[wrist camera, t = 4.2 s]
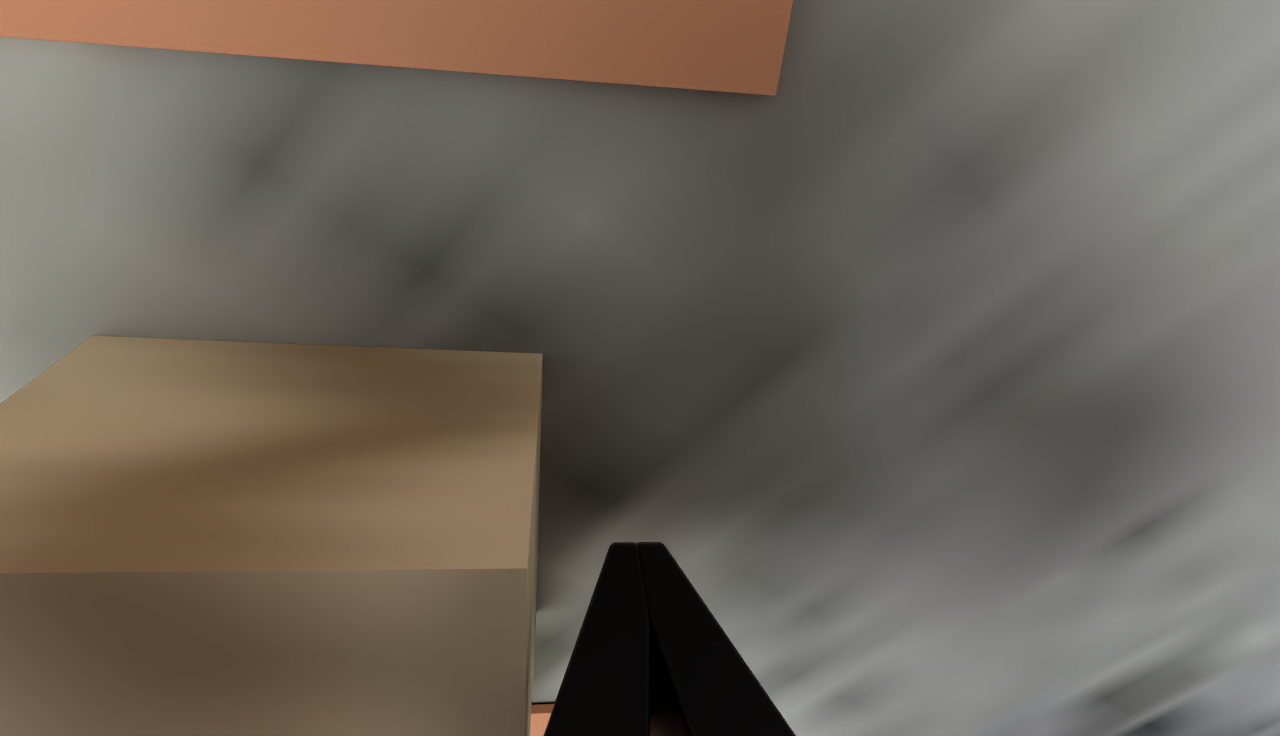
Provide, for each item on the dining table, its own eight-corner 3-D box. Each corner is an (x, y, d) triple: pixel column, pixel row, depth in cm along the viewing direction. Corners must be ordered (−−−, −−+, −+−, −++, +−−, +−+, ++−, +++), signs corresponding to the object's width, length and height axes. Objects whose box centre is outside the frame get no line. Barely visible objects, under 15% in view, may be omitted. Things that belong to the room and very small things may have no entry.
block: (543, 351, 9) (527, 567, 6) (536, 607, 12) (524, 845, 9) (95, 334, 8) (-233, 575, 5) (212, 613, 11) (62, 877, 8)
